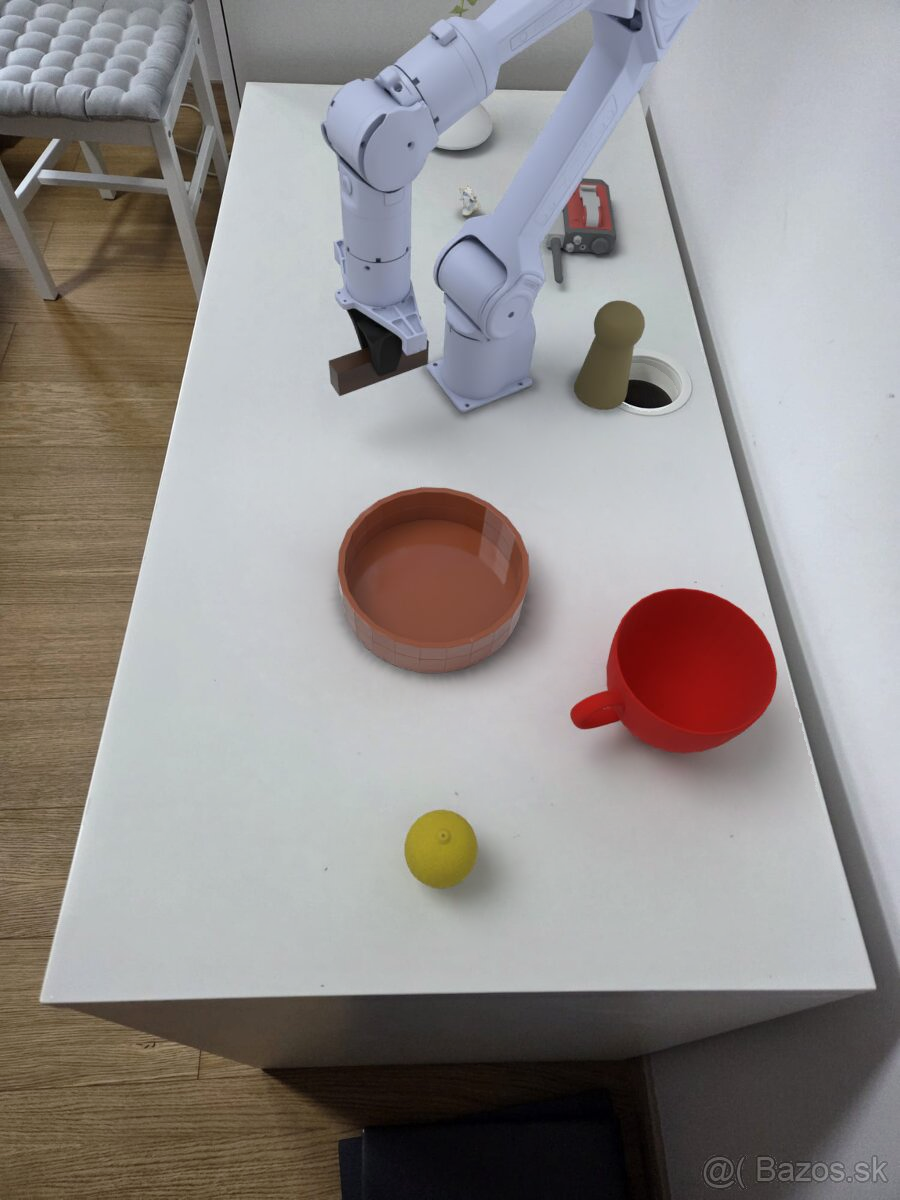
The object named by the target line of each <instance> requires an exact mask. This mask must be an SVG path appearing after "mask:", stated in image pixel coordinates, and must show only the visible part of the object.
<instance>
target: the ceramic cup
mask: <svg viewBox="0 0 900 1200" xmlns="http://www.w3.org/2000/svg"><path fill="white" fill-rule="evenodd" d="M614 632H615V633H614V635H613V637H612V640H611V644H610V648H609V652H608V657H607V663H606V688H607V690H604V691H600V692H596V693H594V694H591V695H589V696H587V697H585V698H583V699H582V700H580V701H579V702H576V704H575V705H574V706H572V708H571V709H570V712H569V716H570V717H569V718H570V720H571V722H572V723H573V725H574V726H575V727H576V728H577V729H579V730H591V729H596V728H600V727H604V726H607V725H610V724H614V723H617V722H621V723H622V724H623V726H624V727H625V728H626V730H628V731H629V732H630V733H631V734H632V735H633V736H634V737H636V738H637V739H638V740H640V741H641V742H643V743H644V744H646V745H648V746H651V747H653V748H655V749H658V750H660V751H665V752H668V753H676V754H694V753H701V752H706V751H708V750H712V749H715V748H718V747H720V746H722V745H724V744H726V743H728V742H729V741H731V740H733V739H735V738H736V737H738V736H739V735H741V734H742V733H744V732H745V731H747V730H748V729H749V728H750V727H751V726H753V724H754V723H755V722H757V721H758V720H759V719H760V718H761V717H762V716H763V715H764V713H765V712H766V710H767V709H768V707H769V706H770V704H771V703H772V701H773V698H774V694H775V691H776V689H777V679H778V670H777V662H776V657H775V654H774V651H773V648H772V646H771V645H772V644H770V642H769V640H768V638H767V636H766V634H765V633H764V630H762V628H761V627H760V626H759V625H758V623H756V621H755V620H754V619H753V618H752V617H751V616H750V615H748V614H747V612H745V611H744V610H743V609H742V608H740V607H739V606H737V605H736V604H734V603H733V602H731V601H729V600H728V599H726V598H723V597H721V596H719V595H717V594H715V593H713V592H708V591H704V590H700V589H696V588H695V589H694V588H685V587H680V588H679V587H678V588H667V589H663V590H659V591H656V592H652V593H651V594H648V595H646V596H644V597H642V598H641V599H639V600H638V601H637V602H636V603H634V604H633V605H632V606H631V607H630V608H629V609H628V610H627V612H626V613H625V614H624V615H623V617H622V618H621V620H620V622H619V624H618V626H617V628H616V630H615V631H614Z"/></svg>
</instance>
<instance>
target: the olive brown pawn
mask: <svg viewBox="0 0 900 1200" xmlns="http://www.w3.org/2000/svg"><path fill="white" fill-rule="evenodd" d="M645 328H646V322H645V316H644V314H643V312H642V310H641V309H640V308H639V306H637V305H636V304H634V303H632V302H629V301H625V300H611V301H609V302H607V303H605V304H603V306H601V307H600V308H599V309H598V311H597V313H596V315H595V317H594V319H593V332H594V335H595V336H594V337H593V341H592V343H591V345H590V347H589V349H588V352H587V354H586V356H585V358H584V361H583V363H582V366H581V368H580V370H579V372H578V375H577V377H576V379H575V382H574V384H573V392H574V394H575V396H576V398H577V399H578V400H579V401H580V402H581V403H582V404H584V405H586V406H587V407H590V408H592V409H595V410H601V411H602V410H603V411H605V410H612V409H616V408H617V407H619V406H621V405H622V404H623V403H624V402H625V401H626V397H627V394H628V389H629V388H628V387H629V383H630V382H629V381H630V375H631V368H632V361H633V354H634V349H635V345H636V344H637V343H639V341H640V339H641V338H642V336H643V333H644V331H645Z"/></svg>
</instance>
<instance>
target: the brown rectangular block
mask: <svg viewBox="0 0 900 1200" xmlns="http://www.w3.org/2000/svg"><path fill="white" fill-rule="evenodd" d="M429 345H430V341H429V339H427V348H426V349H425V350H422V351H420V352H417V353H414V354H411V355H408V356H407V355H406V354H405V353H404V351H403V353H402V356H401V359H400V362H399V365H398V368H397V370H396V371H395V372H392V373H389V374H386V375H384V376H381V377H380V376H378V375H377V373H376V371H375V369H374V366H373V362H372V357H371V351H370V347H367V348H364V349H361V348H360V349H359V350H355V351H353V352H350V353H347V354H344V355H340V356H338V357H335V358H332V359H329V360H328V370H329V379H330V381H329V382H330V385H331V386H332V387H333V389H334V391H335V392H336V393H337V395H338V396H339V397H343V396H344V395H348V394H350V393H353V392H356V391H358V390H361V389H364V388H367V387H369V386H372V385H375V384H377V383H380V382H383V381H385V380H388V379H391V378H394V377H397V376H399V375H402V374H405V373H407V372H410V371H414V370H416V369H418V368H421V367H424V366H427V365H428V364H429V351H430V350H429V348H430V346H429Z"/></svg>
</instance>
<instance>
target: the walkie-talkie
mask: <svg viewBox="0 0 900 1200" xmlns="http://www.w3.org/2000/svg"><path fill="white" fill-rule="evenodd" d="M613 211H614V210H613V205H612V198H611V192H610V185H608V184H607V182H605V181H604V180H603V179H600V178H584V177H583V179H582V180H581V182H580V184H579V185H578V187H577V188H576V190H575V191H574V193H573V194H572V196H571V198H570V199H569V201H568V202H567V204H566V205H565V207H564V208H563V210H562V212H561V213H560V215H559V216H558V218H557V219H556V221H555V223H554V224H553V226H552V227H551V229H550V230H549V232H548V233H547V235H546V237H545V247H546V248H550V249H551V254H552V264H553V265H552V266H553V274H554V275H553V277H554V281H555V283H557V284H558V285H560V284H563V281H564V275H563V264H562V253H561V249H563V250H564V251H565V252H568V253H572V252H575V253H594V254H596V255H602V254H611V253H612V252H613V249H614V244H615V243H616V239H617V230H616V225H615V217H614V213H613Z"/></svg>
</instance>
